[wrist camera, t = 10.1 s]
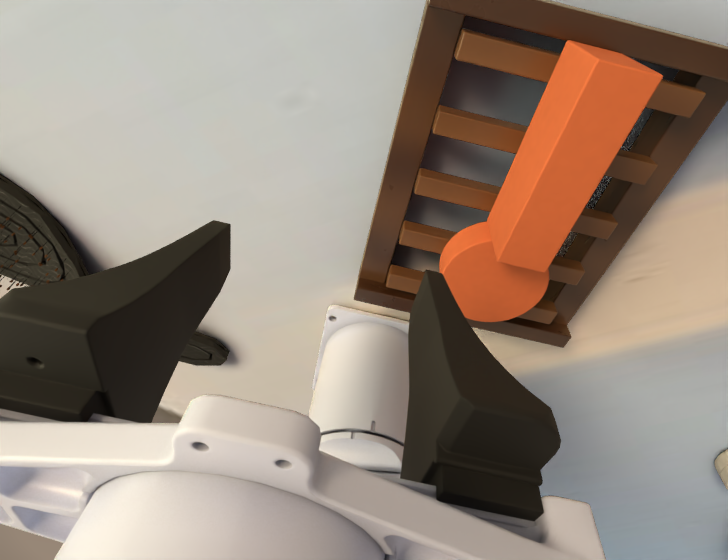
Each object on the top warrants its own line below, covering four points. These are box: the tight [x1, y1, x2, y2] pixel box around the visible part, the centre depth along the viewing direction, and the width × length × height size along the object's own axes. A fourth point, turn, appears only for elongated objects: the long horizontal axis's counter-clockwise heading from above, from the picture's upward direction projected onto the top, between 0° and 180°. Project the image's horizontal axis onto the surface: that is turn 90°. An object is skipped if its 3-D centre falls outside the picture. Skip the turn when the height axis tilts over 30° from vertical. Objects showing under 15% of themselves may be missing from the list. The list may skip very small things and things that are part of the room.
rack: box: [354, 0, 728, 347], centre depth 21 cm, size 16×13×3 cm
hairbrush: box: [0, 175, 229, 365], centre depth 28 cm, size 8×4×25 cm
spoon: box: [439, 40, 663, 322], centre depth 19 cm, size 13×5×4 cm, turn 168°
